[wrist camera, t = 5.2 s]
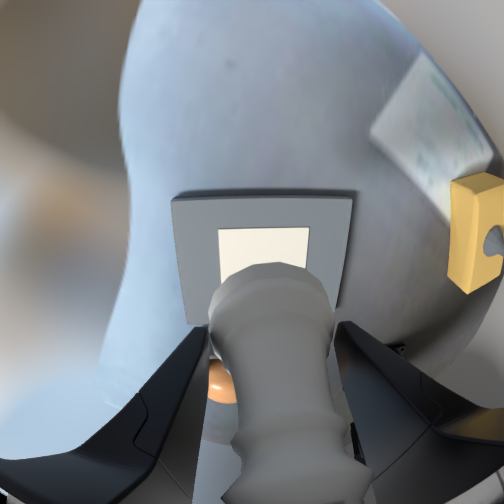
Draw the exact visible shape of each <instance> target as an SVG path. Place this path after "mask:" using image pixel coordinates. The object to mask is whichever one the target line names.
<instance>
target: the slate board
mask: <svg viewBox="0 0 504 504" xmlns="http://www.w3.org/2000/svg"><path fill="white" fill-rule="evenodd" d="M352 201H353V199H351V198H350V197H348V196H315V195H247V196H212V197H189V198H173V199H172V200H171V202H170V203H171V213H172V223H173V232H174V240H175V248H176V256H177V263H178V271H179V277H180V284H181V290H182V297H183V303H184V309H185V314H186V320H187V324H210V320H209V315H208V311H209V307H210V304H211V300H212V297H213V293H214V292H215V291H216V290H217V289H218V288H219V287H220V285H221V284H222V283H223V282H224V281H225V280H226V279H227V278H228V277H229V276H230V275H232V274H234V273H236V272H238V271H240V270H242V269H244V268H246V267H248V266H250V265H253V264H261V263H271V262H283V263H287V264H291V265H295V266H298V267H302V268H305V269H306V270H307V271H309V272H310V273H311V274H312V275H314V276H315V277H316V278H317V279H319V280H320V281H321V282H322V284H323V287H324V289H325V291H326V293H327V296H328V298H329V304H330V306H331V308H332V311H333V313H334V312H335V307H336V302H337V297H338V292H339V287H340V282H341V276H342V270H343V265H344V259H345V252H346V246H347V239H348V232H349V225H350V217H351V209H352Z"/></svg>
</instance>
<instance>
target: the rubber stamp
mask: <svg viewBox="0 0 504 504" xmlns="http://www.w3.org/2000/svg"><path fill="white" fill-rule="evenodd" d="M450 191H451V233H450V252H449V264H448V274H447V276H448V277H449V278H450V279H451V280H452V281H453V282H454V283H455V284H456V285H457V286H458V287H460V288H461V289H462V290H463V291H464V292H465V293H466V294H469V293H471V292H472V291H474V290H476V289H478V288H479V287H481V286H483V285H484V284H486V283H488V282H489V281H491V280H493V279H494V278H496V277H497V276H499V275H500V272H501V267H502V262H503V257H504V179H501V178H499V177H496V176H494V175H491V174H488V173H486V172H482V173H478V174H474V175H471V176H467V177H464V178H460V179H457V180H453V181H451V185H450Z"/></svg>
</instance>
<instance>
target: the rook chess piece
mask: <svg viewBox="0 0 504 504" xmlns="http://www.w3.org/2000/svg"><path fill="white" fill-rule="evenodd" d="M208 315H209V320H210V324H209V327H208V330H209V334H210V339H211V343H212V347H213V350H214V353H215V354H216V356H217V357H218V358H219V359H220V360H221V361H222V364H223V367H224V369H225V370H226V371H227V372H228V373H229V374H230V375H231V377H232V380H233V384H234V389H235V394H236V400H237V405H238V416H239V431H238V432H237V433H236V435H235V436H234V438H233V439H232V441H231V442H230V443H231V445H232V448H233V450H234V452H235V453H237V454H238V455H239V456H240V457H241V460H242V469H241V475H240V476H239V477H238V478H237V479H236V481H235V482H234V483H233V484H232V485H231V486H230V488H229V489H228V490H227V491H226V492H225V493H224V495H223V496H222V497H221V500H222V501H223V502H224V503H225V504H364V500H363V498H364V496H365V494H366V492H367V490H368V488H369V486H370V484H371V482H372V480H373V478H374V476H375V473H374V472H373V470H372V469H370V468H369V467H367V466H365V465H363V464H362V463H360V462H358V461H357V460H355V459H353V458H352V457H350V456H348V455H347V453H346V450H345V448H344V440H343V439H344V437H345V435H346V432H347V430H348V428H349V425H348V423H347V421H346V420H345V418H344V417H342V416H340V415H338V414H336V410H335V407H334V404H333V401H332V397H331V391H330V383H329V376H328V369H327V363H326V358H327V357H328V355H329V351H330V343H331V341H332V338H333V330H334V313H333V311H332V308H331V306H330V304H329V298H328V296H327V293H326V291H325V289H324V287H323V284H322V282H321V281H320V280H319V279H317V278H316V277H315V276H314V275H312V274H311V273H310V272H309V271H307V270H306V269H305V268H302V267H298V266H295V265H291V264H287V263H283V262H271V263H261V264H253V265H250V266H248V267H246V268H244V269H242V270H240V271H238V272H236V273H234V274H232V275H230V276H229V277H228V278H227V279H226V280H225V281H224V282H223V283H222V284H221V285H220V287H219V288H218V289H217V290H216V291H215V292H214V293H213V297H212V300H211V304H210V307H209V311H208Z"/></svg>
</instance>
